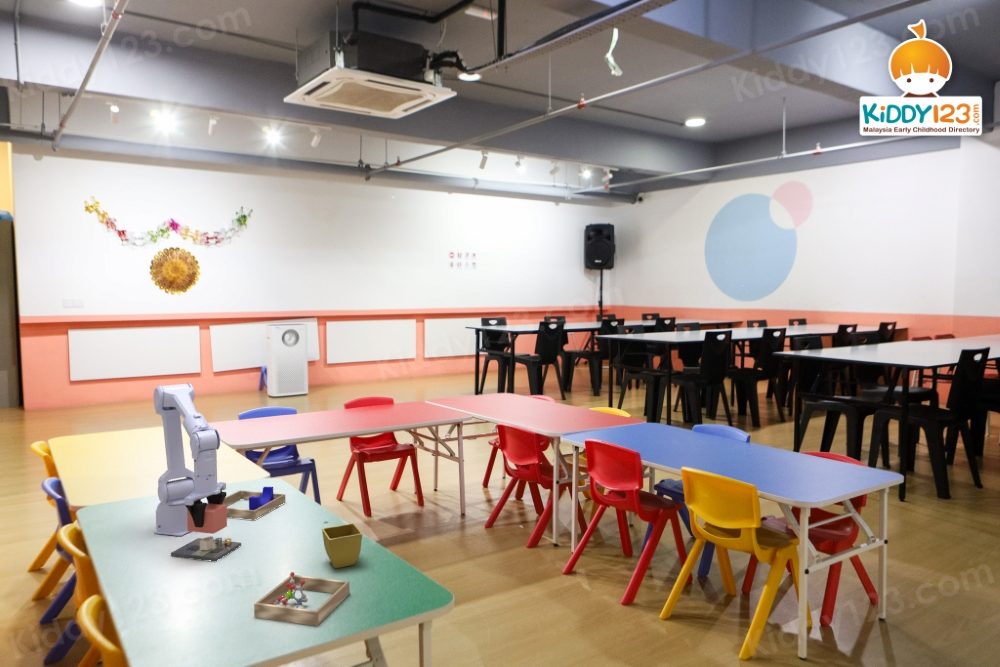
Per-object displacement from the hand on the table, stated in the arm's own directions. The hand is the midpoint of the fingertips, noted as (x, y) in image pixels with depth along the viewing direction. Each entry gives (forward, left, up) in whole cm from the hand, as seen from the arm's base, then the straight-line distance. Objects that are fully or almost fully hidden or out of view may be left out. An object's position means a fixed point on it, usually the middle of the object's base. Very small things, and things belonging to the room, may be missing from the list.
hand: (206, 522), depth 180 cm
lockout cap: (0, 0, -2) cm, 2 cm away
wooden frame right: (+41, -20, -8) cm, 47 cm away
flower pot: (+39, +3, -9) cm, 40 cm away
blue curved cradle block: (-7, +35, -9) cm, 36 cm away
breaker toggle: (0, 0, -7) cm, 7 cm away
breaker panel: (-1, +1, -8) cm, 8 cm away
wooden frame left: (-11, +34, -8) cm, 36 cm away
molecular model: (+39, -23, -9) cm, 46 cm away
